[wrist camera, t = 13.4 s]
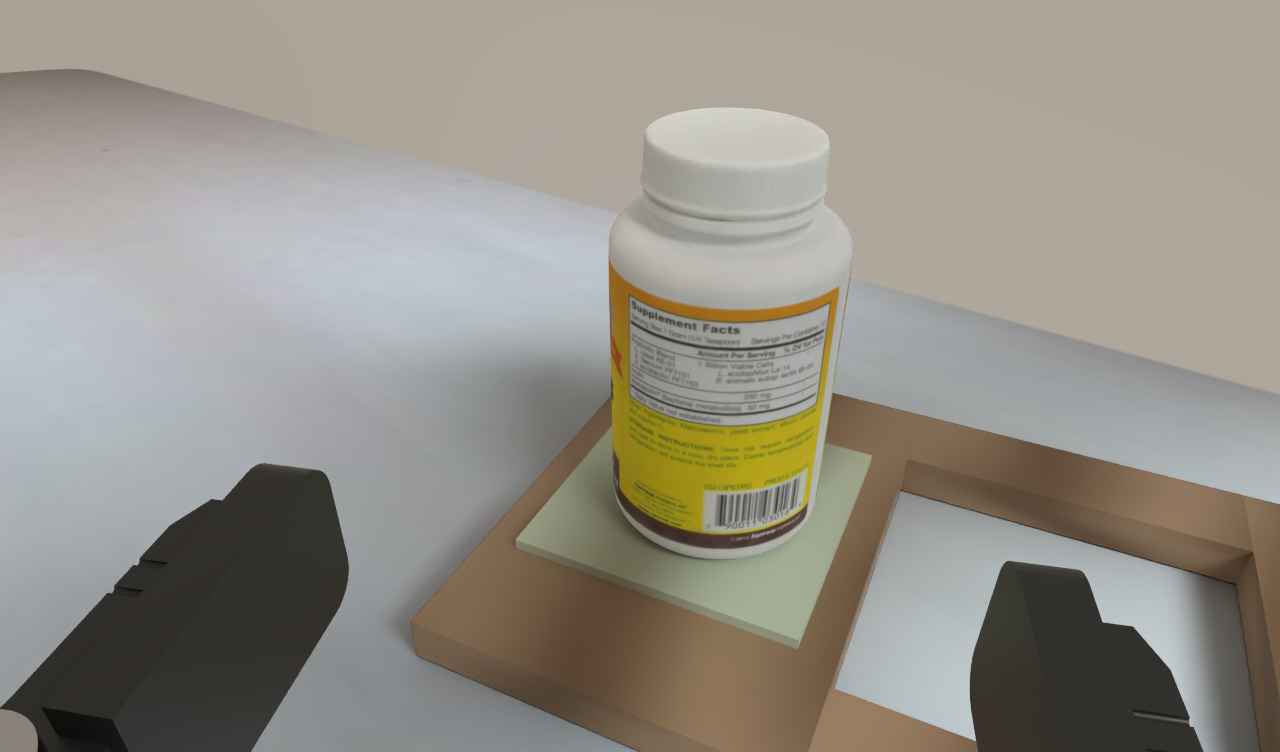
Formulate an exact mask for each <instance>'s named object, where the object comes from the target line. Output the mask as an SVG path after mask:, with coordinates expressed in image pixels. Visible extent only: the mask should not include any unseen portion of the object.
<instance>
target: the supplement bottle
mask: <svg viewBox="0 0 1280 752" xmlns="http://www.w3.org/2000/svg"><path fill="white" fill-rule="evenodd" d="M829 147H830V144H829V139H828V136H827V134H826V133H825V132H824V131H823V130H822V129H821V128H820V127H818V126H816V125H815V124H813V123H811V122H809V121H806V120H804V119H801V118H797V117H795V116H791V115H787V114H783V113H778V112H773V111H766V110H759V109H749V108H705V109H695V110H688V111H683V112H678V113H673V114H670V115H667V116H664V117H662V118H660V119H658V120H656V121H654V122H653V123H651V124H650V125H649V126H648V127H647V129H646V131H645V135H644V151H643V170H642V173H641V176H640V182H641V185H642V186H643V196H642V197H640V198H638V199H637V200H635V201H633V202H632V203H631V204H629V205H628V206H627V207H626V208H625V209H624V210H623V211H622V212H621V213H620V214H619V215H618V217H617V218H616V220H615V222H614V224H613V226H612V228H611V231H610V236H609V303H610V343H611V395H612V445H613V456H612V458H613V478H614V489H615V494H616V498H617V501H618V504H619V506H620V508H621V510H622V512H623V513H624V515H625V516H626V518H627V519H628V520H629V522H630V523H631V524H632V525H633V526H634V527H635V528H636V529H637V530H638V531H639V532H640V533H642V534H643V535H644V536H646V537H647V538H648V539H650V540H652V541H653V542H655V543H657V544H659V545H660V546H663V547H665V548H667V549H670V550H672V551H675V552H678V553H681V554H684V555H688V556H692V557H698V558H705V559H719V560H720V559H737V558H744V557H749V556H753V555H757V554H761V553H763V552H766V551H769V550H771V549H774V548H775V547H777V546H779V545H781V544H783V543H784V542H786V541H787V540H789V539H790V538H791V537H792V536H794V535H795V534H796V533H797V532H798V531H799V530H800V529H801V528H802V527H803V525H804V524H805V523H806V521H807V520H808V518H809V516H810V514H811V512H812V510H813V507H814V504H815V500H816V495H817V490H818V484H819V477H820V472H821V465H822V458H823V451H824V444H825V438H826V432H827V425H828V419H829V412H830V406H831V399H832V392H833V385H834V378H835V371H836V365H837V358H838V352H839V345H840V339H841V332H842V325H843V319H844V313H845V307H846V300H847V294H848V287H849V281H850V274H851V268H852V257H853V244H852V240H851V237H850V234H849V231H848V229H847V227H846V226H845V225H844V223H843V222H842V220H841V219H840V218H839V217H838V216H837V215H836V214H835V213H834V212H833V211H832V210H830V209H829V208H827V207H826V206H825V205H824V194H825V192H826V189H827V181H826V174H827V164H828V156H829Z"/></svg>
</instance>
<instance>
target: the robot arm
mask: <svg viewBox="0 0 1280 752" xmlns="http://www.w3.org/2000/svg"><path fill="white" fill-rule="evenodd" d="M348 572H349V565H348V557H347V553H346V548H345V544H344V540H343V536H342V532H341V528H340V523H339V519H338V515H337V511H336V507H335V502H334V498H333V494H332V490H331V486H330V483H329V480H328V478H327V476H326V475H325V474H324V473H323V472H322V471H319V470H313V469H305V468H297V467H289V466H281V465H273V464H266V463H263V464H258V465H256V466H254V467H253V468H251V469H250V470H249V471H248V472H247V473H246V475H245V476H244V477H243V478H242V479H241V480H240V481H239V483H238V484H237V485H236V486H235V487H234V488H233V489H232V490H231V492H230V493H229V494H228V495H227V496H226V497H225V498H224V500H223V501H222V500H215V499H211V500H210V501H208V502H206V503H205V504H203V505H202V506H200V507H199V508H197V509H195V510H194V511H192V512H191V513H189V514H187V515H186V516H184V517H183V518H181V519H180V520H178V521H176V522H175V523H173V524H172V525H170V526H169V527H168V528H167V529H166V530H165V532H164V533H163V534H162V535H161V536H160V537H159V538H158V539H157V540H156V541H155V542H154V543H153V544H152V546H151V547H150V548H149V549H148V550H147V551H146V552H145V553H144V554H143V555H142V556H141V557H140V562H139V564H138V565H137V566H136V565H133V566H132V567H131V568H130V569H129V570H128V571H127V573H126V574H125V575H124V576H123V577H122V578H121V579H120V580H119V581H118V582H117V583H116V584H115V586H114V591H113V593H112V594H111V593H107V594H106V595H105V596H104V597H103V599H102V600H101V601H100V602H99V603H98V604H97V605H96V606H95V607H94V608H93V609H92V610H91V611H90V613H89V614H88V615H87V616H86V617H85V618H84V619H83V620H82V621H81V622H80V623H79V624H78V626H77V627H76V628H75V629H74V630H73V631H72V632H71V633H70V634H69V635H68V636H67V637H66V638H65V640H64V641H63V642H62V643H61V644H60V645H59V646H58V647H57V648H56V649H55V650H54V651H53V653H52V654H51V655H50V656H49V657H48V658H47V659H46V660H45V661H44V662H43V663H42V664H41V665H40V667H39V668H38V669H37V670H36V671H35V672H34V673H33V674H32V675H31V676H30V677H29V678H28V680H27V681H26V682H25V683H24V684H23V685H22V686H21V687H20V688H19V689H18V690H17V691H16V693H15V694H14V695H13V696H12V697H11V698H10V699H9V700H8V701H7V702H6V703H5V704H4V705H3V706H2V707H1V708H0V752H251V750H252V749H253V747H254V746H255V744H256V742H257V741H258V739H259V737H260V736H261V734H262V733H263V731H264V729H265V728H266V726H267V724H268V723H269V721H270V720H271V718H272V716H273V715H274V713H275V711H276V710H277V708H278V707H279V705H280V703H281V702H282V700H283V698H284V697H285V695H286V694H287V692H288V690H289V689H290V687H291V685H292V684H293V682H294V681H295V679H296V677H297V676H298V674H299V672H300V671H301V669H302V668H303V666H304V664H305V663H306V661H307V659H308V658H309V656H310V655H311V653H312V651H313V650H314V648H315V646H316V645H317V643H318V642H319V640H320V638H321V637H322V635H323V633H324V632H325V630H326V629H327V627H328V625H329V624H330V622H331V620H332V619H333V617H334V616H335V614H336V612H337V610H338V609H339V607H340V605H341V602H342V600H343V597H344V594H345V590H346V587H347V581H348ZM970 703H971V711H972V718H973V724H974V730H975V736H976V742H977V748H978V752H1203V749H1202V747H1201V744H1200V742H1199V740H1198V737H1197V735H1196V732H1195V730H1194V727H1190V725H1189V718H1190V717H1189V715H1188V712H1187V710H1186V707H1185V705H1184V702H1183V700H1182V697H1181V695H1180V692H1179V690H1178V688H1177V685H1176V683H1175V680H1174V678H1173V675H1172V673H1171V670H1170V669H1169V668H1168V667H1167V665H1166V664H1165V663H1164V662H1163V661H1162V660H1161V659H1160V657H1159V656H1158V655H1157V654H1156V653H1155V652H1154V650H1153V649H1152V648H1151V647H1150V646H1149V645H1148V644H1147V642H1146V641H1145V640H1144V639H1143V638H1142V637H1141V635H1140V634H1139V633H1138V632H1137V631H1136V630H1135V629H1134V627H1132V626H1125V625H1117V624H1110V623H1103V622H1102V620H1101V617H1100V614H1099V611H1098V608H1097V605H1096V602H1095V599H1094V596H1093V593H1092V590H1091V588H1090V585H1089V582H1088V580H1087V578H1086V576H1085V574H1084V573H1083V572H1082V571H1080V570H1076V569H1068V568H1060V567H1052V566H1045V565H1037V564H1029V563H1021V562H1013V561H1007V562H1006V563H1005V564H1004V565H1003V566H1002V568H1001V570H1000V573H999V576H998V579H997V582H996V585H995V588H994V591H993V594H992V597H991V600H990V603H989V607H988V610H987V613H986V616H985V619H984V622H983V625H982V628H981V631H980V634H979V637H978V640H977V643H976V646H975V650H974V653H973V658H972V664H971V673H970Z"/></svg>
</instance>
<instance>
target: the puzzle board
mask: <svg viewBox="0 0 1280 752" xmlns="http://www.w3.org/2000/svg"><path fill="white" fill-rule="evenodd" d="M612 456H613V445H612V396H611V397H610V398H609V399H608V400H607V401H606V403H605V404H604V405H603V406H602V407H601V408H600V409H599V410H598V411H597V413H596V414H595V415H594V416H593V417H592V418H591V419H590V420H589V422H588V423H587V424H586V425H585V426H584V427H583V428H582V429H581V431H580V432H579V433H578V434H577V435H576V436H575V437H574V438H573V440H572V441H571V442H570V443H569V444H568V445H567V446H566V447H565V449H564V450H563V451H562V452H561V453H560V454H559V455H558V456H557V458H556V459H555V460H554V461H553V462H552V463H551V464H550V465H549V466H548V468H547V469H546V470H545V471H544V472H543V473H542V474H541V475H540V477H539V478H538V479H537V480H536V481H535V482H534V483H533V484H532V486H531V487H530V488H529V489H528V490H527V491H526V492H525V493H524V495H523V496H522V497H521V498H520V499H519V500H518V501H517V502H516V504H515V505H514V506H513V507H512V508H511V509H510V510H509V511H508V513H507V514H506V515H505V516H504V517H503V518H502V519H501V520H500V521H499V523H498V524H497V525H496V526H495V527H494V528H493V529H492V530H491V532H490V533H489V534H488V535H487V536H486V537H485V538H484V539H483V541H482V542H481V543H480V544H479V545H478V546H477V547H476V548H475V550H474V551H473V552H472V553H471V554H470V555H469V556H468V557H467V559H466V560H465V561H464V562H463V563H462V564H461V565H460V566H459V568H458V569H457V570H456V571H455V572H454V573H453V574H452V575H451V576H450V578H449V579H448V580H447V581H446V582H445V583H444V584H443V585H442V587H441V588H440V589H439V590H438V591H437V592H436V593H435V594H434V596H433V597H432V598H431V599H430V600H429V601H428V602H427V603H426V605H425V606H424V607H423V608H422V609H421V610H420V611H419V612H418V614H417V615H416V616H415V617H414V618H413V619H412V620H411V621H410V623H411V628H412V634H413V639H414V644H415V649H416V654H417V656H419V657H422V658H424V659H426V660H429V661H431V662H433V663H436V664H438V665H440V666H443V667H445V668H447V669H450V670H452V671H454V672H457V673H459V674H461V675H464V676H466V677H468V678H470V679H473V680H475V681H477V682H480V683H482V684H484V685H487V686H489V687H491V688H494V689H496V690H498V691H501V692H503V693H505V694H508V695H510V696H512V697H515V698H517V699H519V700H521V701H524V702H526V703H528V704H531V705H533V706H535V707H538V708H540V709H542V710H545V711H547V712H549V713H552V714H554V715H556V716H559V717H561V718H563V719H566V720H568V721H570V722H573V723H575V724H577V725H579V726H582V727H584V728H586V729H589V730H591V731H593V732H596V733H598V734H600V735H603V736H605V737H607V738H610V739H612V740H614V741H617V742H619V743H621V744H624V745H626V746H628V747H630V748H633V749H635V750H637V751H640V752H978V748H977V742H976V741H974V740H971V739H968V738H966V737H963V736H960V735H957V734H955V733H952V732H949V731H947V730H944V729H941V728H939V727H936V726H933V725H930V724H928V723H925V722H922V721H920V720H917V719H914V718H912V717H909V716H906V715H903V714H901V713H898V712H895V711H893V710H890V709H887V708H885V707H882V706H879V705H877V704H874V703H871V702H868V701H866V700H863V699H860V698H858V697H855V696H852V695H850V694H847V693H844V692H841V691H839V690H836V689H834V688H835V685H836V682H837V679H838V676H839V673H840V670H841V667H842V664H843V661H844V658H845V655H846V652H847V649H848V646H849V643H850V640H851V637H852V634H853V631H854V628H855V625H856V622H857V619H858V616H859V613H860V610H861V607H862V604H863V601H864V598H865V595H866V592H867V589H868V586H869V583H870V580H871V577H872V574H873V571H874V568H875V565H876V562H877V559H878V556H879V553H880V550H881V547H882V544H883V541H884V538H885V535H886V532H887V529H888V526H889V523H890V520H891V517H892V514H893V511H894V508H895V505H896V502H897V499H898V496H899V493H900V490H903V491H907V492H910V493H914V494H917V495H921V496H925V497H928V498H932V499H935V500H939V501H942V502H946V503H949V504H953V505H957V506H960V507H964V508H967V509H971V510H974V511H978V512H981V513H985V514H989V515H992V516H996V517H999V518H1003V519H1006V520H1010V521H1014V522H1017V523H1021V524H1024V525H1028V526H1031V527H1035V528H1038V529H1042V530H1046V531H1049V532H1053V533H1056V534H1060V535H1063V536H1067V537H1070V538H1074V539H1078V540H1081V541H1085V542H1088V543H1092V544H1095V545H1099V546H1102V547H1106V548H1110V549H1113V550H1117V551H1120V552H1124V553H1127V554H1131V555H1134V556H1138V557H1142V558H1145V559H1149V560H1152V561H1156V562H1159V563H1163V564H1167V565H1170V566H1174V567H1177V568H1181V569H1184V570H1188V571H1191V572H1195V573H1199V574H1202V575H1206V576H1209V577H1213V578H1216V579H1220V580H1223V581H1227V582H1231V583H1234V584H1236V586H1237V593H1238V600H1239V606H1240V613H1241V620H1242V627H1243V634H1244V640H1245V647H1246V654H1247V661H1248V668H1249V674H1250V681H1251V688H1252V695H1253V702H1254V708H1255V715H1256V722H1257V729H1258V736H1259V742H1260V749H1261V752H1280V504H1276V503H1272V502H1268V501H1264V500H1260V499H1256V498H1252V497H1247V496H1243V495H1239V494H1235V493H1231V492H1227V491H1223V490H1219V489H1215V488H1211V487H1207V486H1203V485H1199V484H1195V483H1191V482H1187V481H1183V480H1179V479H1175V478H1171V477H1167V476H1163V475H1159V474H1155V473H1151V472H1147V471H1143V470H1139V469H1135V468H1131V467H1127V466H1123V465H1119V464H1115V463H1111V462H1107V461H1103V460H1099V459H1095V458H1091V457H1087V456H1083V455H1079V454H1075V453H1071V452H1067V451H1063V450H1059V449H1055V448H1051V447H1047V446H1043V445H1039V444H1035V443H1031V442H1027V441H1023V440H1019V439H1015V438H1011V437H1007V436H1003V435H999V434H995V433H991V432H987V431H983V430H978V429H974V428H970V427H966V426H962V425H958V424H954V423H950V422H946V421H942V420H938V419H934V418H930V417H926V416H922V415H918V414H914V413H910V412H906V411H902V410H898V409H894V408H890V407H886V406H882V405H878V404H874V403H870V402H866V401H862V400H858V399H854V398H850V397H846V396H842V395H838V394H834V393H832V399H831V406H830V412H829V419H828V425H827V432H826V438H825V444H824V451H823V458H822V465H821V472H820V477H819V484H818V490H817V495H816V500H815V504H814V507H813V510H812V512H811V514H810V516H809V518H808V520H807V521H806V523H805V524H804V525H803V527H802V528H801V529H800V530H799V531H798V532H797V533H796V534H795V535H794V536H792V537H791V538H790V539H789V540H787V541H786V542H784V543H783V544H781V545H779V546H777V547H775V548H774V549H771V550H769V551H766V552H763V553H761V554H757V555H753V556H749V557H744V558H737V559H720V560H719V559H705V558H698V557H692V556H688V555H684V554H681V553H678V552H675V551H672V550H670V549H667V548H665V547H663V546H660V545H659V544H657V543H655V542H653V541H652V540H650V539H648V538H647V537H646V536H644V535H643V534H642V533H640V532H639V531H638V530H637V529H636V528H635V527H634V526H633V525H632V524H631V523H630V522H629V520H628V519H627V518H626V516H625V515H624V513H623V512H622V510H621V508H620V506H619V504H618V501H617V498H616V494H615V489H614V478H613V458H612Z"/></svg>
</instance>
